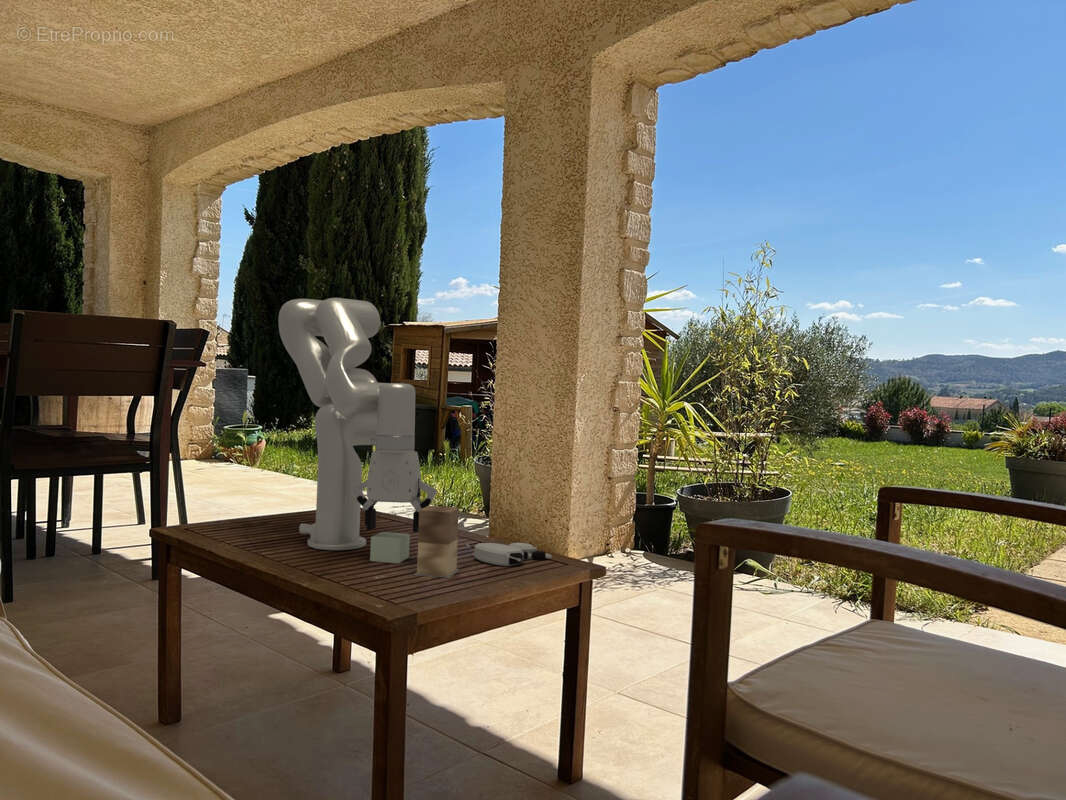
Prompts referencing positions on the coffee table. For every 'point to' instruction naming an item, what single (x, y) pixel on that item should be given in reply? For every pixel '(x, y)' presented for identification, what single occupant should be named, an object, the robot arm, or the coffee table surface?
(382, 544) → the sage block
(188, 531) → the coffee table surface
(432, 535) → the walnut block
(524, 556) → the robot toy
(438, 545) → the oak block
